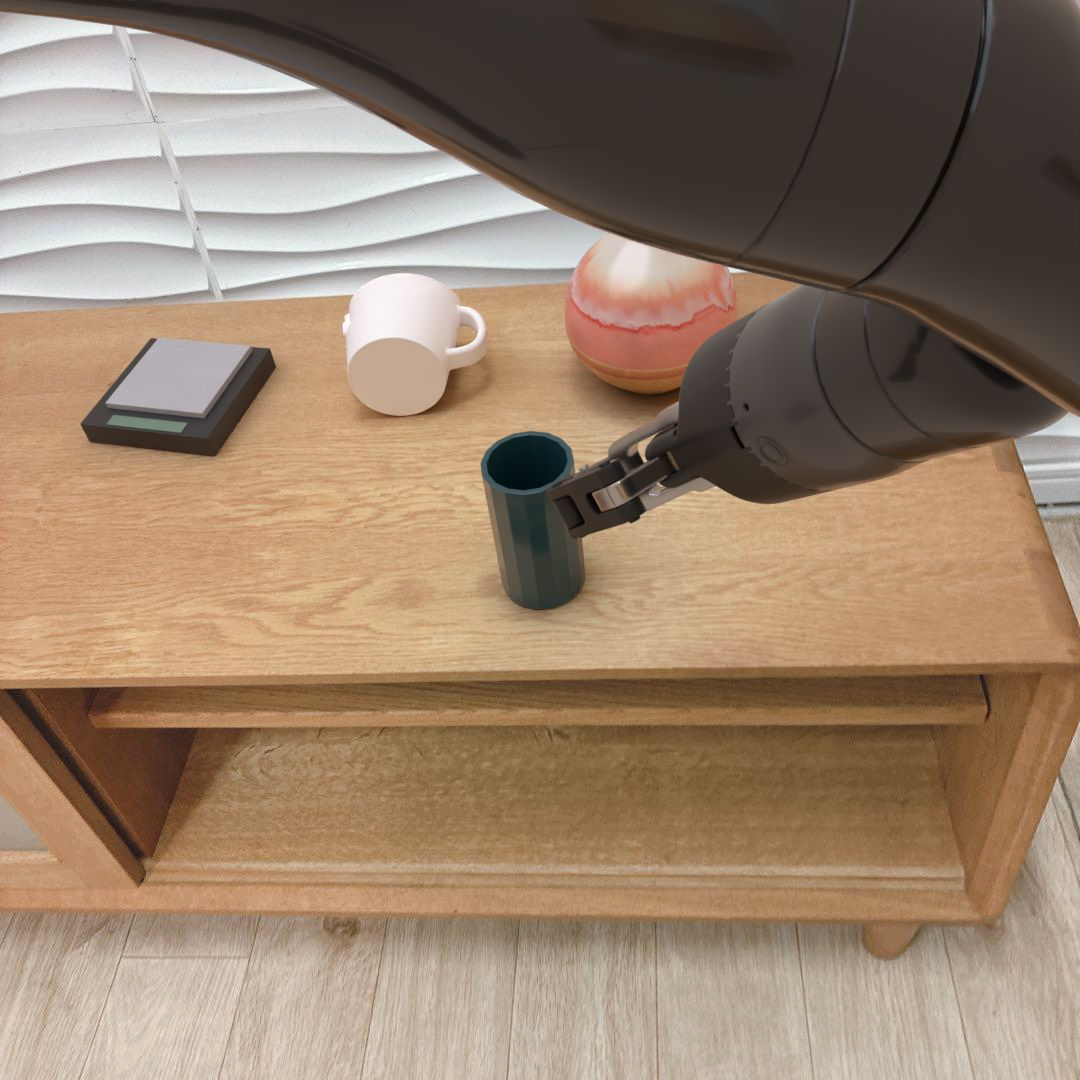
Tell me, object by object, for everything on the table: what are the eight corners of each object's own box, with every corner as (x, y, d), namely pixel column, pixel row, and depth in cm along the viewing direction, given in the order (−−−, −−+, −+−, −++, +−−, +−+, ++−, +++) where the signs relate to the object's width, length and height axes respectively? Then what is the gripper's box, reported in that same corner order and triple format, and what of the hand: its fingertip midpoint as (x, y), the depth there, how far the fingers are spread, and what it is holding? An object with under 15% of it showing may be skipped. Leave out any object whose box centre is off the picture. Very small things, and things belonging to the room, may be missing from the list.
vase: (741, 419, 85) (751, 216, 72) (568, 427, 86) (547, 230, 73) (728, 317, 94) (734, 122, 81) (572, 326, 95) (554, 135, 83)
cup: (574, 615, 73) (560, 499, 65) (492, 603, 74) (469, 488, 66) (593, 552, 76) (582, 435, 68) (515, 542, 78) (496, 427, 70)
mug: (349, 421, 89) (326, 342, 83) (359, 353, 96) (339, 276, 90) (493, 408, 88) (479, 328, 83) (493, 340, 95) (481, 262, 89)
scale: (215, 456, 88) (204, 432, 86) (89, 441, 91) (76, 418, 89) (276, 366, 96) (268, 342, 94) (158, 355, 98) (148, 332, 97)
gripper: (908, 225, 42) (706, 338, 57) (624, 382, 37) (485, 460, 52) (994, 395, 43) (771, 462, 58) (726, 571, 38) (559, 594, 53)
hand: (636, 461), depth 55 cm, fingers open, 8 cm apart
